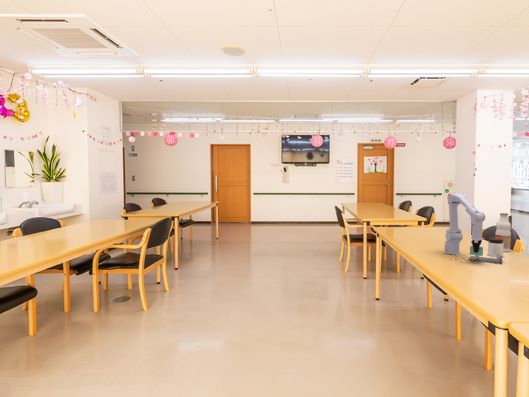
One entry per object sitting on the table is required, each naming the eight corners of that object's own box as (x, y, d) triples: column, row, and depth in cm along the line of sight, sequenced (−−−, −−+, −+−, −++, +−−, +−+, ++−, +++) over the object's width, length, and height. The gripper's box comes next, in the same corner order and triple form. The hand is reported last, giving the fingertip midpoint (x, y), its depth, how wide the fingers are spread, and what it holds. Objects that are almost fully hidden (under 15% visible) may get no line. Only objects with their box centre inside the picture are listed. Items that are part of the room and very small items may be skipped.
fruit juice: (507, 252, 249) (509, 214, 247) (492, 250, 256) (494, 213, 254) (511, 250, 255) (513, 213, 253) (497, 248, 262) (498, 212, 260)
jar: (498, 257, 235) (499, 240, 234) (486, 255, 242) (486, 238, 241) (504, 256, 240) (505, 239, 239) (491, 253, 247) (492, 237, 246)
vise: (469, 260, 229) (469, 253, 229) (470, 257, 237) (470, 250, 237) (502, 264, 219) (502, 257, 219) (502, 260, 227) (502, 254, 227)
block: (469, 254, 224) (470, 246, 224) (470, 253, 228) (470, 245, 228) (482, 255, 220) (482, 248, 220) (482, 254, 224) (483, 247, 224)
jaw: (474, 258, 228) (475, 253, 228) (475, 256, 235) (475, 251, 235) (478, 259, 227) (478, 253, 227) (479, 256, 234) (479, 251, 233)
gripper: (483, 233, 215) (482, 254, 216) (484, 230, 227) (484, 250, 228) (470, 232, 219) (469, 253, 220) (472, 229, 231) (471, 249, 232)
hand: (476, 251), depth 224 cm, fingers closed on block, 4 cm apart
